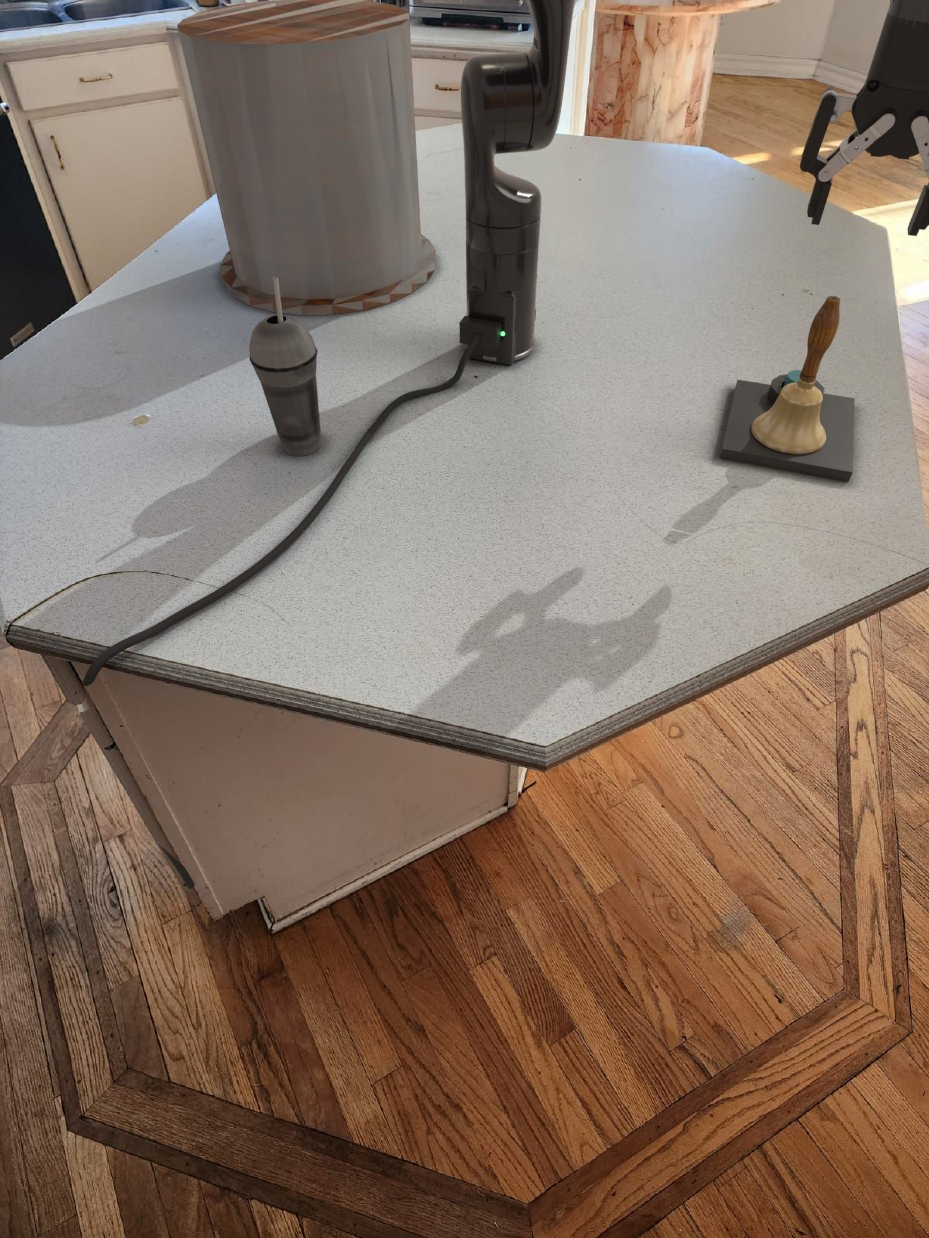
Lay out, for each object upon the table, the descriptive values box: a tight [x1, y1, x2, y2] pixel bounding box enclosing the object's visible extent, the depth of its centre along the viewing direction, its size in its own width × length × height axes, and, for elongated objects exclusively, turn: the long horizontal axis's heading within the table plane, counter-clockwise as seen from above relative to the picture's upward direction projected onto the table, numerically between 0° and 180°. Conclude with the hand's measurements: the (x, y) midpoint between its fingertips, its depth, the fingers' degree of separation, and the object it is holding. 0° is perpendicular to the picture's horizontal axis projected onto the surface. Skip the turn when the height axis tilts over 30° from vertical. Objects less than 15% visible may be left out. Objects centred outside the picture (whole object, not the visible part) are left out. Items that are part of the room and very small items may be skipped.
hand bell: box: [751, 295, 841, 454], centre depth 82 cm, size 8×8×16 cm
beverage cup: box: [249, 277, 322, 457], centre depth 83 cm, size 7×7×20 cm
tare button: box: [783, 369, 802, 387], centre depth 91 cm, size 3×3×2 cm
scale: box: [718, 373, 856, 483], centre depth 89 cm, size 16×14×3 cm
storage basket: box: [177, 0, 437, 316], centre depth 113 cm, size 35×35×32 cm
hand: (863, 227), depth 71 cm, fingers open, 8 cm apart
